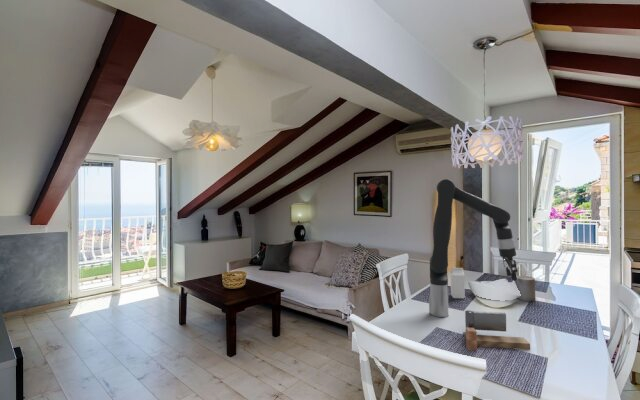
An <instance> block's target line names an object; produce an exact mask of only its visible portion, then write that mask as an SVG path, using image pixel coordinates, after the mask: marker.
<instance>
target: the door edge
mask: <svg viewBox="0 0 640 400" xmlns="http://www.w3.org/2000/svg"><path fill="white" fill-rule="evenodd" d="M462 336H464V337H465V347H466V346H467V347H466V348H467V350H468V351H476V350H478V347H488V348H489V347H490V348H502V347H503V349H505V348H506V349H519V350H531V343H530V342H529V341H528V340H527V339H526V338H525V337H521V336H519V337H518V336H504V335H488V334H486V335H485V334H478V332H477V330H475V329H474V328H467V327H466V326H465V331H464V332H462Z"/></svg>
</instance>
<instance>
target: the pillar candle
mask: <svg viewBox="0 0 640 400" xmlns="http://www.w3.org/2000/svg"><path fill="white" fill-rule="evenodd" d="M516 276H517V275H516ZM535 280H536V279H535V278H534V277H533V276H527V275H518V276H517V280H516V289H517V288H518V290H519V291H520V294H521V296H520V297H519V299H518V300H520V301H523V302H535V301H536V281H535Z"/></svg>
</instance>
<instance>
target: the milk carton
mask: <svg viewBox="0 0 640 400" xmlns="http://www.w3.org/2000/svg"><path fill="white" fill-rule="evenodd" d="M465 276H466V275H465V272H464V268H463V267H451V270H450V296H451V297H452V298H453V299H464V298H465V299H466V288H465V287H466V283H465V281H466V280H465V279H466V277H465Z"/></svg>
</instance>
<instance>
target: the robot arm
mask: <svg viewBox="0 0 640 400" xmlns="http://www.w3.org/2000/svg"><path fill="white" fill-rule="evenodd" d="M436 191H437V205H436V210H435V214H434V218H433V219H434V220H433V226H432V229H433V230H432V240H433V251H432V255H431V256H430V259H429V279H430V280H429V282H430V283H429V284H430V285H429V286H430V287H429V288H430V289H429V290H430V291H429V292H430V295H429V296H428V312H429V314H431V316H433V317H437V318H447V317H448V316H449V280H448V279H449V278H448V267H449V254H448V253H449V252H448V251H449V245H450V238H451V231H452V222H453V200H455V201H457V202H459V203H461V204H463V205H465V206H467V207H468V208H470V209H472V210H474V211H475V212H478V213H479V214H481V215H484V216H487V217H489V218H490V219H492V221H493V224H494V228H495V230H496V238H497V246H498V247H497V248H498V252H499V257H501V258H502V263H503V268H504V269H505V271H506V276H507V277H511V280H513V281H517V273H518V267H517V263H516V260H515V259H514V258H513V257H516V256H517V251H516V245H515V244H516V243H515V241H514V238H513V237H514V236H513V231H512V229H511V227H510V225H509V222H510V220H511V214H510V212H509V211H507V210H506V209H504V208H502V207H499V206H497V205H494V204H492V203H491V202H489V201H487V200H485V199H483V198H481V197H478V196H477V195H473V194H472V193H469V192H466V191H465V190H463V189H461V188H459V187H458V186H456V184H455V183H454V181H453V180H451V179H448V178H444V179H442V180H440V181H439V182H438V183H437V184H436Z"/></svg>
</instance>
